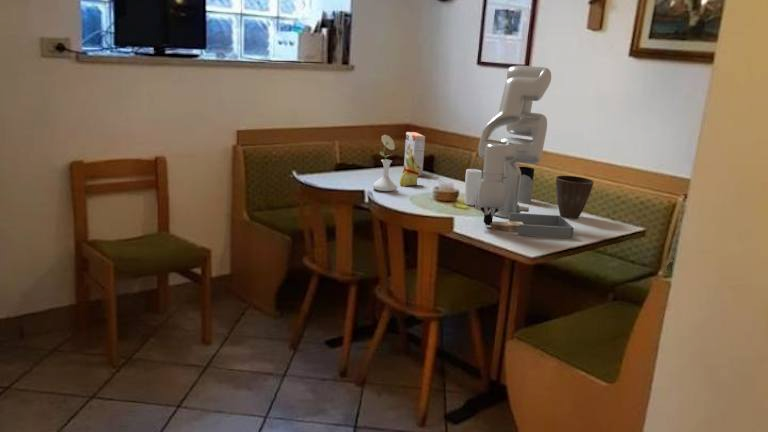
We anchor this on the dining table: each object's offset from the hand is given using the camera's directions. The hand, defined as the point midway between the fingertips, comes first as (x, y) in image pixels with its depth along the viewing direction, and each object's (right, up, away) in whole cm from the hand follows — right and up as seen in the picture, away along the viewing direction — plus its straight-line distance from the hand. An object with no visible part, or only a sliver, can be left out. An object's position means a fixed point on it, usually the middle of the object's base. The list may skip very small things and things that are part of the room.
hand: (487, 224), depth 251 cm
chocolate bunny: (-27, +18, +67) cm, 75 cm away
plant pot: (+38, +3, +26) cm, 46 cm away
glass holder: (+24, +11, +52) cm, 58 cm away
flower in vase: (-39, +15, +52) cm, 67 cm away
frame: (+20, -2, +1) cm, 20 cm away
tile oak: (+10, -2, 0) cm, 11 cm away
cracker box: (-24, +25, +96) cm, 102 cm away
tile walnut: (+4, -2, 0) cm, 5 cm away
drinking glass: (-2, +8, +35) cm, 36 cm away
